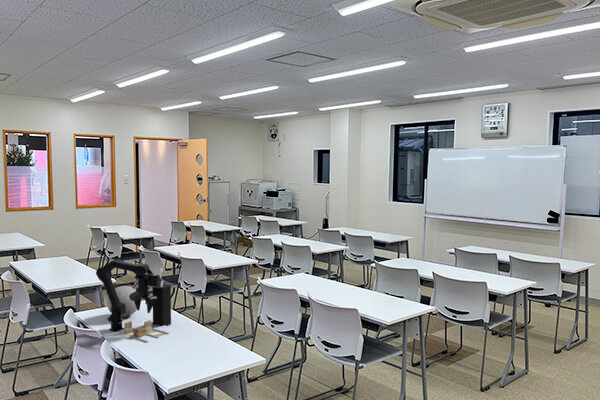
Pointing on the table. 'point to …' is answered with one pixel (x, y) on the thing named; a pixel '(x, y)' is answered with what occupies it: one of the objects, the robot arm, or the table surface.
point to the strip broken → (149, 329)
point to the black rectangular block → (162, 305)
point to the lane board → (149, 335)
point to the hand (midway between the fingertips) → (143, 311)
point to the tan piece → (128, 328)
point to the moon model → (124, 299)
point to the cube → (139, 332)
